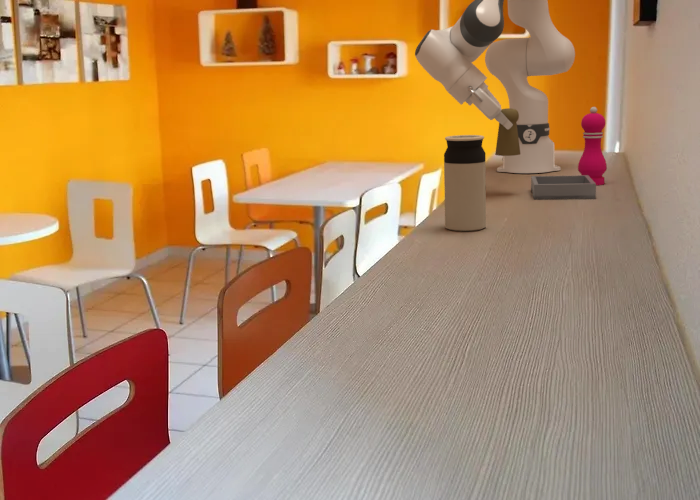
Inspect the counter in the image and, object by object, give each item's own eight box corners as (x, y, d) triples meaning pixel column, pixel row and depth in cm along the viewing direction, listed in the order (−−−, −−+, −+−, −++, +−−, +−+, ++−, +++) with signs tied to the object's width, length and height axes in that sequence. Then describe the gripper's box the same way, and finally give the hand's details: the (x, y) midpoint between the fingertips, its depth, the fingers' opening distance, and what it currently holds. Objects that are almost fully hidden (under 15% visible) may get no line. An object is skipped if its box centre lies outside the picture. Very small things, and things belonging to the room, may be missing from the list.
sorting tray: (531, 189, 207) (531, 176, 206) (587, 189, 205) (588, 175, 204) (534, 199, 192) (534, 184, 191) (595, 198, 189) (596, 183, 188)
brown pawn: (520, 155, 194) (520, 108, 191) (494, 156, 195) (494, 109, 193) (520, 152, 200) (520, 107, 197) (495, 153, 201) (495, 108, 198)
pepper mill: (603, 181, 216) (605, 105, 212) (608, 185, 209) (611, 106, 205) (575, 182, 217) (576, 106, 213) (580, 186, 210) (581, 108, 206)
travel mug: (488, 231, 157) (488, 137, 153) (447, 232, 157) (445, 138, 153) (482, 223, 164) (482, 134, 160) (443, 225, 165) (441, 135, 161)
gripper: (477, 77, 185) (521, 119, 185) (479, 76, 204) (518, 114, 205) (458, 98, 186) (501, 139, 187) (461, 94, 206) (500, 132, 206)
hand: (510, 126), depth 196 cm, fingers closed on brown pawn, 5 cm apart
